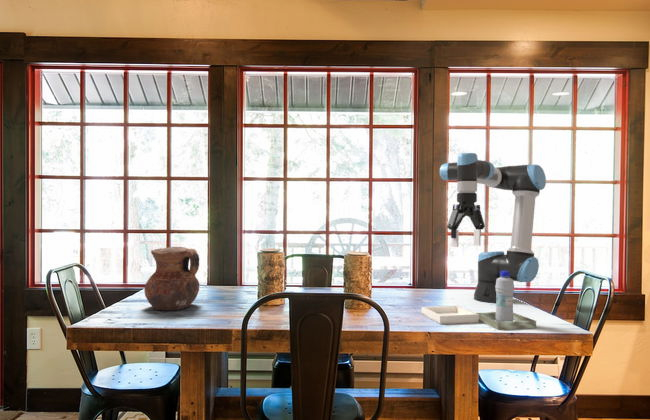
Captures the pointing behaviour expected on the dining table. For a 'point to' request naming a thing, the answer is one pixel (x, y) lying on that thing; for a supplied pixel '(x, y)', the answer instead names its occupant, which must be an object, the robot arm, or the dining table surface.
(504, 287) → the bottle
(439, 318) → the cream dish
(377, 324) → the dining table surface
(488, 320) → the rim
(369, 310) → the dining table surface
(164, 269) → the jug
